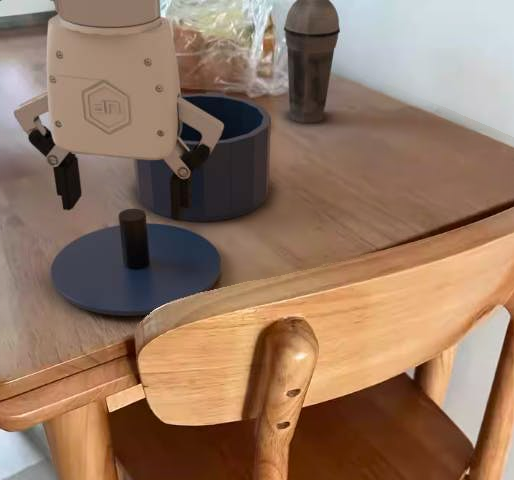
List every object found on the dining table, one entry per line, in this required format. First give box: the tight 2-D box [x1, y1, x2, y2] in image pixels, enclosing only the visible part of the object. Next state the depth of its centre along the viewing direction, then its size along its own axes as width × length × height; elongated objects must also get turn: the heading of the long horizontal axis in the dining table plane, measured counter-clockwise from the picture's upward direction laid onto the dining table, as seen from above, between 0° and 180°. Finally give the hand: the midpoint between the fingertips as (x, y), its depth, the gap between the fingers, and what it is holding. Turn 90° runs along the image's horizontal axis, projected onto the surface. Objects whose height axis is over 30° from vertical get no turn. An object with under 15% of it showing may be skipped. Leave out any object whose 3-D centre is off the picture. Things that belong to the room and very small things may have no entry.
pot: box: [133, 91, 272, 223], centre depth 80 cm, size 15×20×8 cm
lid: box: [50, 208, 222, 317], centre depth 67 cm, size 16×16×6 cm
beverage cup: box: [283, 0, 341, 124], centre depth 95 cm, size 7×7×20 cm
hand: (125, 208), depth 65 cm, fingers open, 9 cm apart
